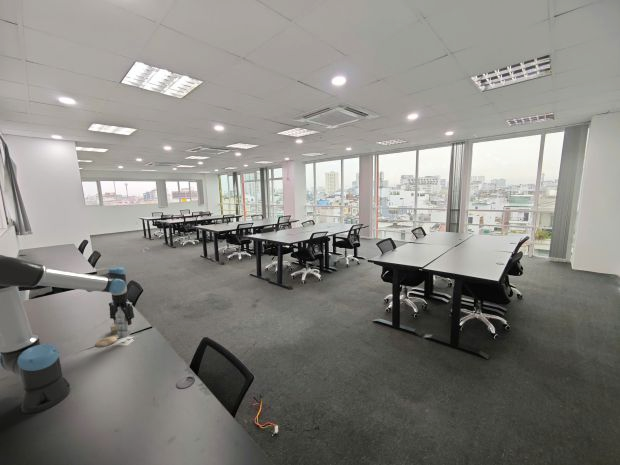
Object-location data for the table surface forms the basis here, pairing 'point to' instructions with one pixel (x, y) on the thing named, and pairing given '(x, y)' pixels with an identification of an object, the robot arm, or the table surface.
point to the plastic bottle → (121, 324)
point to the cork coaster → (106, 341)
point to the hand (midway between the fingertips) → (123, 329)
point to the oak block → (113, 329)
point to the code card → (125, 341)
